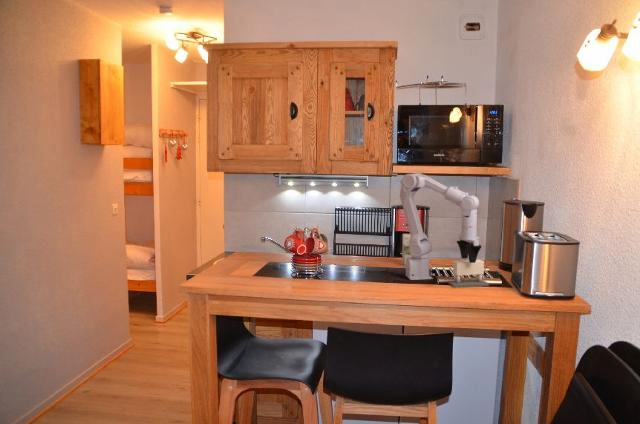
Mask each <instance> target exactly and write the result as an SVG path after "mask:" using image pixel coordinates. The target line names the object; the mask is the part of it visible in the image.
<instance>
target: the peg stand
mask: <svg viewBox="0 0 640 424" xmlns="http://www.w3.org/2000/svg"><path fill="white" fill-rule="evenodd" d="M475 276H476V278H475V279H474V278H473V279H461V275H455V274H454V279H453V280H447V284H449V285H450V286H451V287H453V288H454V289H456V288H457V289H458V288H475V287H489V286H490V284H489V282H487V281H486V280H483V274H475Z"/></svg>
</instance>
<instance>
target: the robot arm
mask: <svg viewBox="0 0 640 424" xmlns="http://www.w3.org/2000/svg"><path fill="white" fill-rule="evenodd" d="M400 184H401V186H400V191H399V198H400V202H401V205H402V209H403V212H404V216H405V220H406V224H407V227H408V231H409V234H410V235H411V237H410V240H409V244H410V247H409V251H410V254H411V255H412V257H408V258H407V259H406V266H405V277H407V278H408V279H409V280H411V281H416V280H419V281H420V280H433V279H434V278H433V277H432V276H431V275H430V253H431V252H432V249H433V246H432V243H431V241H430V240H429V239H428V235H426V234H425V232H424V231H423V230H424V229H423V226H422V223H421V220H420V215H419V213H418V209H417V205H416V201H415V198H414V197H415V195H416V194H417V192H418V191H419V190H420V189H421V188H429V189H430V190H432V191H435V192H437V193H439V194H441V195H443V196H444V199H445V200H446V201H448V202H450V203H452V204H454V205H456V206H458V207H459V208H460V210H461V231H460V232H461V233H460V234H459V235H458V236H459V237H458V238H459V240H457V241H456V244H457V246H458V248H459V251H460V252H459V253H460V255H461V260H463V259H464V260H465V259H468V260H469V262H470V263H475V262H476V260H477V257H478V254H479V252H480V250H481V249H482V245H480V237H479V236H477V234H478V233H477V231H478V229H477V227H478V224H477V223H478V207H480V200H479V197H477V196H476V195H474V194H470V195H469V193H468V192H464V191H462V190H460V189H459V187H458V186H449V187H448V186H446V185H444V184H442V183H441V182H438V181H436V180H435V179H433V178H431V177H430V176H429V175H426V174H423V173H421V172H415V173H406V174H405V175H404V176H403V177H402V179H401V181H400Z"/></svg>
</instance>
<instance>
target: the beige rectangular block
mask: <svg viewBox="0 0 640 424" xmlns="http://www.w3.org/2000/svg"><path fill="white" fill-rule="evenodd" d="M452 274H454V276H455V275H460V276H471V275H475V276H476V274H482V275H484V274H485V261H484V260H482V259H476V262H475V263H470V262H469V259H464V260H463V259H461V260H460V259H459V260H457V259H456V260H453V261H452Z"/></svg>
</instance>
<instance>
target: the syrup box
mask: <svg viewBox="0 0 640 424" xmlns="http://www.w3.org/2000/svg"><path fill="white" fill-rule="evenodd" d="M410 237H411V235H410V233H402V245H401V246H402V248H401V249H402V251H401V252H402V254H401V255H402V261H401V262H402V265H403V266H404V267H406V259H407V258H408V257H412V255H411V254H410V251H409V247H410V244H409V240H410Z"/></svg>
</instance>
